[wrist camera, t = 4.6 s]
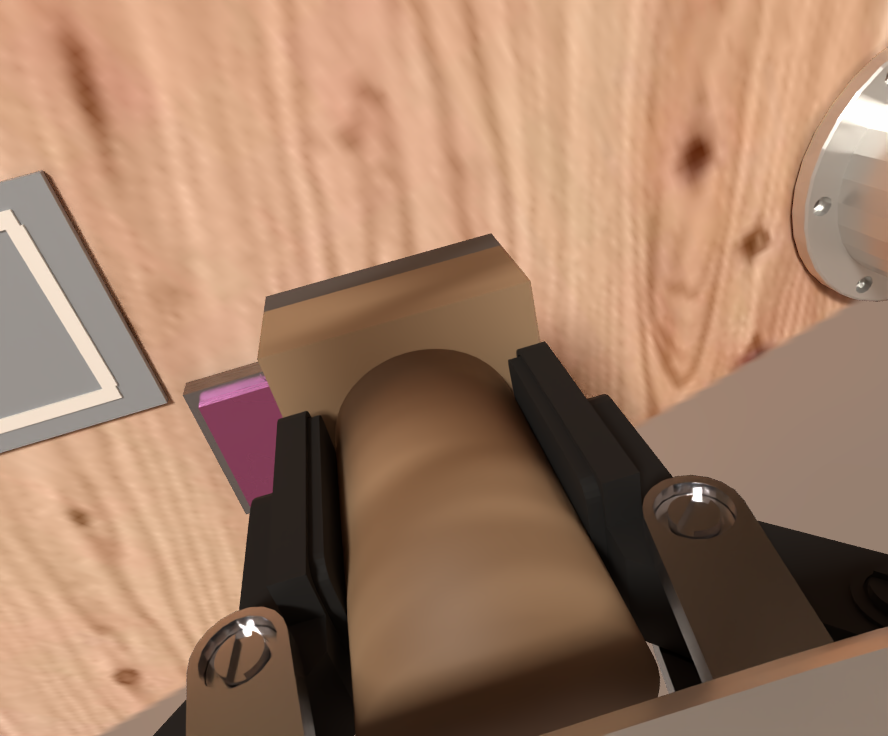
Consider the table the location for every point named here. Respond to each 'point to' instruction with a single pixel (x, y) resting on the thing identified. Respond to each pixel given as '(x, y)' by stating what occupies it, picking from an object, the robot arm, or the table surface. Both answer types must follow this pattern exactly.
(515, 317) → the stamp
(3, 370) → the marked card
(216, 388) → the ink pad
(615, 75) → the table surface
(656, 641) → the robot arm
